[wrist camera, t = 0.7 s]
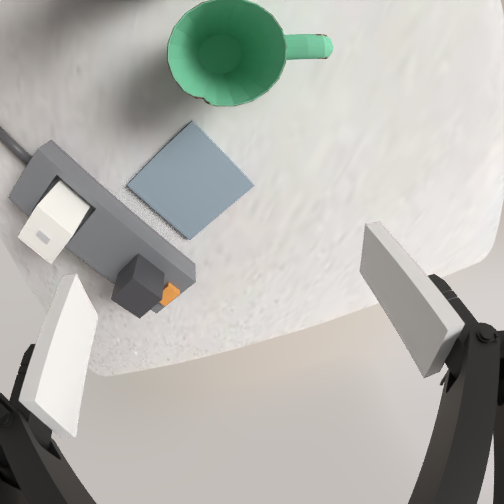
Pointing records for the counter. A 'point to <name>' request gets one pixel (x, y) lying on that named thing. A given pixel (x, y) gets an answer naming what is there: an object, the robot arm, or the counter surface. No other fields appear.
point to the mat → (190, 181)
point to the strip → (106, 232)
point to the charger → (54, 221)
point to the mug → (235, 51)
